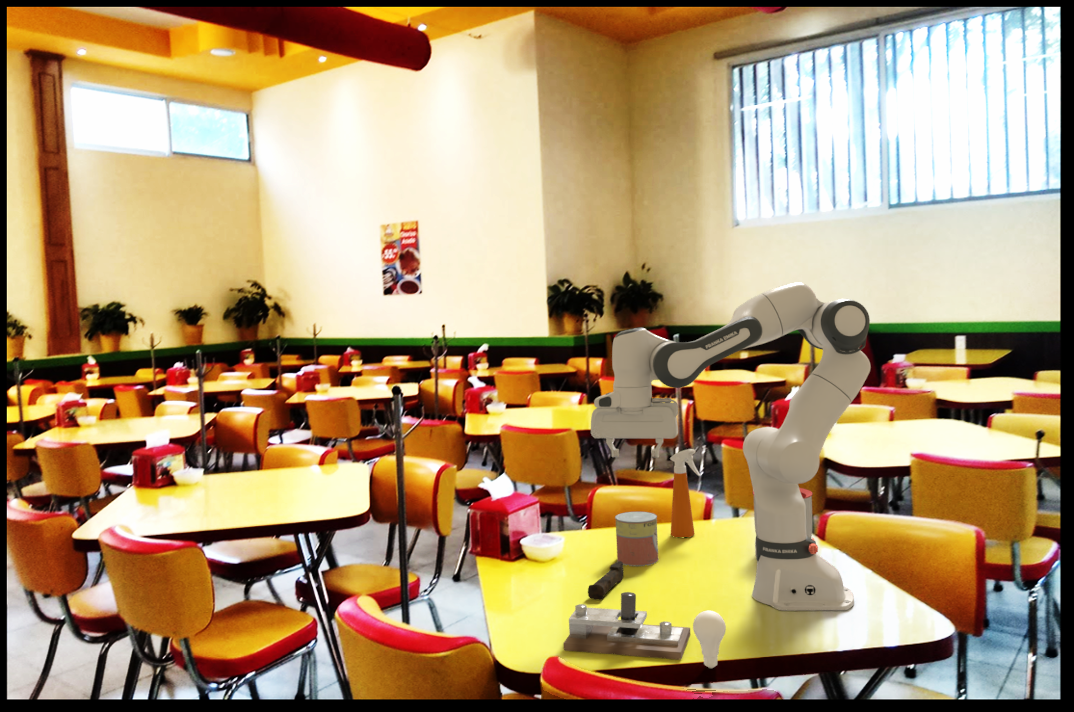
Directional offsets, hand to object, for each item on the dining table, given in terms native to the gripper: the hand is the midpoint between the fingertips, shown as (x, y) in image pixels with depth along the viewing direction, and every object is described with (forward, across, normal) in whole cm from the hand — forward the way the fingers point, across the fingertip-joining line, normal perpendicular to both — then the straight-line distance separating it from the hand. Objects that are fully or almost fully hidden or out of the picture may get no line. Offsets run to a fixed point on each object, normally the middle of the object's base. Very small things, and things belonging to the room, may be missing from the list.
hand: (635, 457), depth 201 cm
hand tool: (+35, +10, -8) cm, 37 cm away
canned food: (+34, +7, -31) cm, 47 cm away
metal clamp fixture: (+33, -2, +25) cm, 41 cm away
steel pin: (+33, -2, +25) cm, 41 cm away
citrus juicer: (+34, -31, -41) cm, 62 cm away
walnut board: (+34, -2, +25) cm, 42 cm away
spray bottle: (+34, -3, -56) cm, 66 cm away
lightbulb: (+34, -20, +34) cm, 52 cm away
